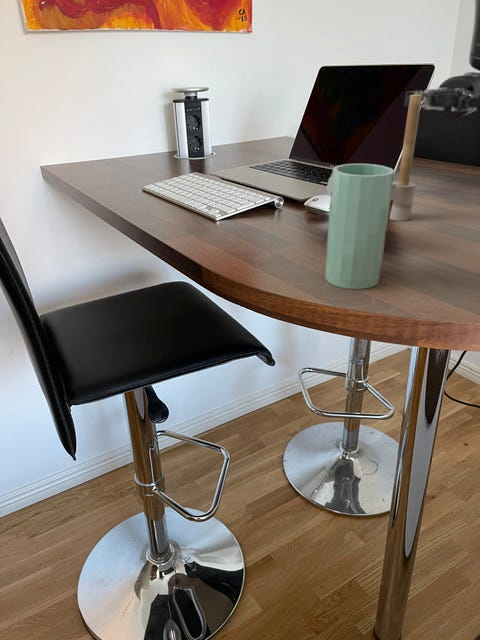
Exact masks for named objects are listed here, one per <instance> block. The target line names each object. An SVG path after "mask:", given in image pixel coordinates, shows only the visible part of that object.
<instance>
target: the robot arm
mask: <svg viewBox="0 0 480 640" xmlns="http://www.w3.org/2000/svg"><path fill="white" fill-rule="evenodd" d="M473 19H474V20H473V29H472V35H471V42H470V48H469V56H468V63H469V65H470V67H471V68H473V69H475V70H476V71H467V72H465V73H463V74H462V75H456V76H452V77H449V78H447V79H445V80H444V81H442V83H441V84H440V85H439V86H438V87H437V88H428V89H427V88H426V89H424V91H423V90H422V89H417V90H412V91H406V92H405V97H404V105H403V106H404V107H405V108H409V101H410V95H414V94H417V95H422V100H421V107H420V108H421V109H422V110H427V111H428V110H429V111H430V110H434V111H437V113H438V114H439V115H440V116H441V117H442V118H445V119H449V120H455V119H459V118H461V117H464V116H467V115H469V114H472V113H473V112H475V111H478V112H480V0H474V18H473ZM477 71H479V72H477Z"/></svg>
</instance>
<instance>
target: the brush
mask: <svg viewBox="0 0 480 640" xmlns="http://www.w3.org/2000/svg"><path fill="white" fill-rule="evenodd" d="M421 100H422V95H417V94H414V95H410V101H409V108H408V107H407V108H408V110H407V115H406V116H407V117H406V123H405V131H404V137H403V145H402V152H401V158H400V166H399V171H398V172H399V173H398V180H397V181H393V184H396V189H397V200H393V205H392V209H391V214H390V218H389V220H390V221H395V222H407V221H409V220H411V216H412V209H413V204H414V197H415V191H416V183H414V182H411V181H410V179H411V171H412V165H413V160H414V159H413V158H414V152H415V146H416V138H417V132H418V125H419V119H420V112H421V108H422V107H421V104H422V101H421Z"/></svg>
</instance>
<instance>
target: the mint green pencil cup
mask: <svg viewBox="0 0 480 640" xmlns="http://www.w3.org/2000/svg"><path fill="white" fill-rule="evenodd" d="M331 174H332V186H331V199H330V201H329V212H328V213H329V214H328V225H327V236H326V237H327V238H326V249H325V250H326V251H325V252H326V253H325V265H324V269H325V270H324V279H325V280H326V282H327V283H329V284H331V285H333V286H335V287H338V288H341V289H347V290H348V289H349V290H367V289H370V288H373V287H375V286H377V285H378V284H379V282H380V277H381V272H382V264H383V258H384V251H385V243H386V237H387V232H386V229H387V230H388V227H387V222H388V214H389V207H390V200H391V192H392V185H393V182H394V177H395V170H394V169H393V168H392V167H389V166H385V165H380V164H375V163H374V164H373V163H346V164H345V163H344V164H340V165H336V166H334V167H332V172H331Z"/></svg>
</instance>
